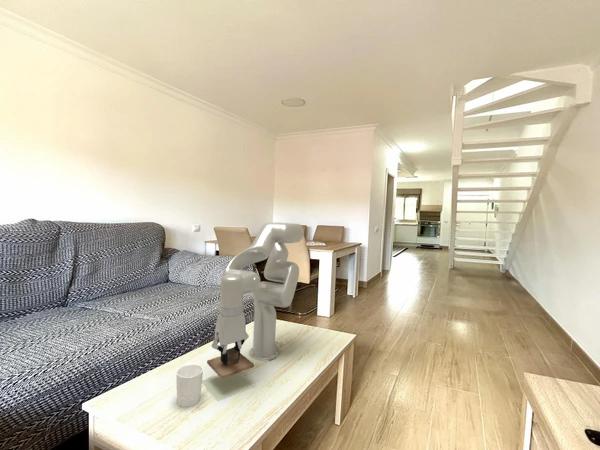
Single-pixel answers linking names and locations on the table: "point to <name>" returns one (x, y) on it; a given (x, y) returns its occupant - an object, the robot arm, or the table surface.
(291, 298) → the robot arm
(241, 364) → the lid
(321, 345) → the table surface
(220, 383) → the mat
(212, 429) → the table surface
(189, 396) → the white cup
